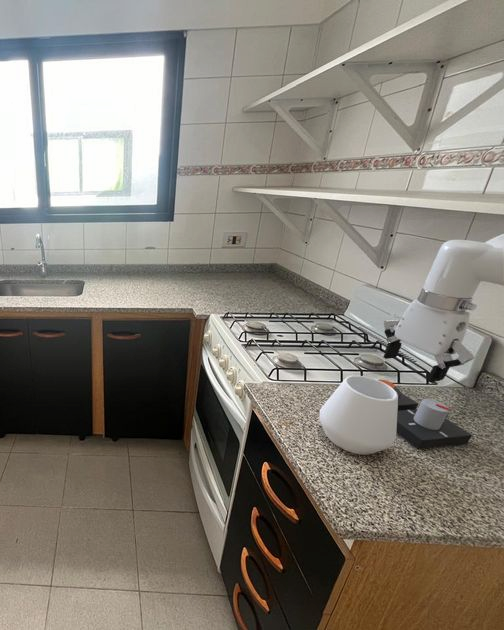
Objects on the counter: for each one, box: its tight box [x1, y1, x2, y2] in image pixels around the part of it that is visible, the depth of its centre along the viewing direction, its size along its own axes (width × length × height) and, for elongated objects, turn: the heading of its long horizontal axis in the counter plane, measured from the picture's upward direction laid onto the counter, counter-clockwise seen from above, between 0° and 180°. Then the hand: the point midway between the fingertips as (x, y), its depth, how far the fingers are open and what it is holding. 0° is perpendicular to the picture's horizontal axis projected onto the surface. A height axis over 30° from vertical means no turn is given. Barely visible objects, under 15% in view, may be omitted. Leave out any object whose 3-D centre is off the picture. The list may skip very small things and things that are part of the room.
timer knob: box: [413, 398, 451, 430], centre depth 76 cm, size 4×4×5 cm
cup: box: [319, 374, 398, 456], centre depth 73 cm, size 13×13×14 cm
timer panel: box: [396, 408, 473, 450], centre depth 78 cm, size 12×9×3 cm
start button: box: [377, 379, 396, 389], centre depth 86 cm, size 4×4×2 cm
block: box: [394, 386, 419, 411], centre depth 87 cm, size 11×9×4 cm
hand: (410, 368), depth 80 cm, fingers open, 9 cm apart
